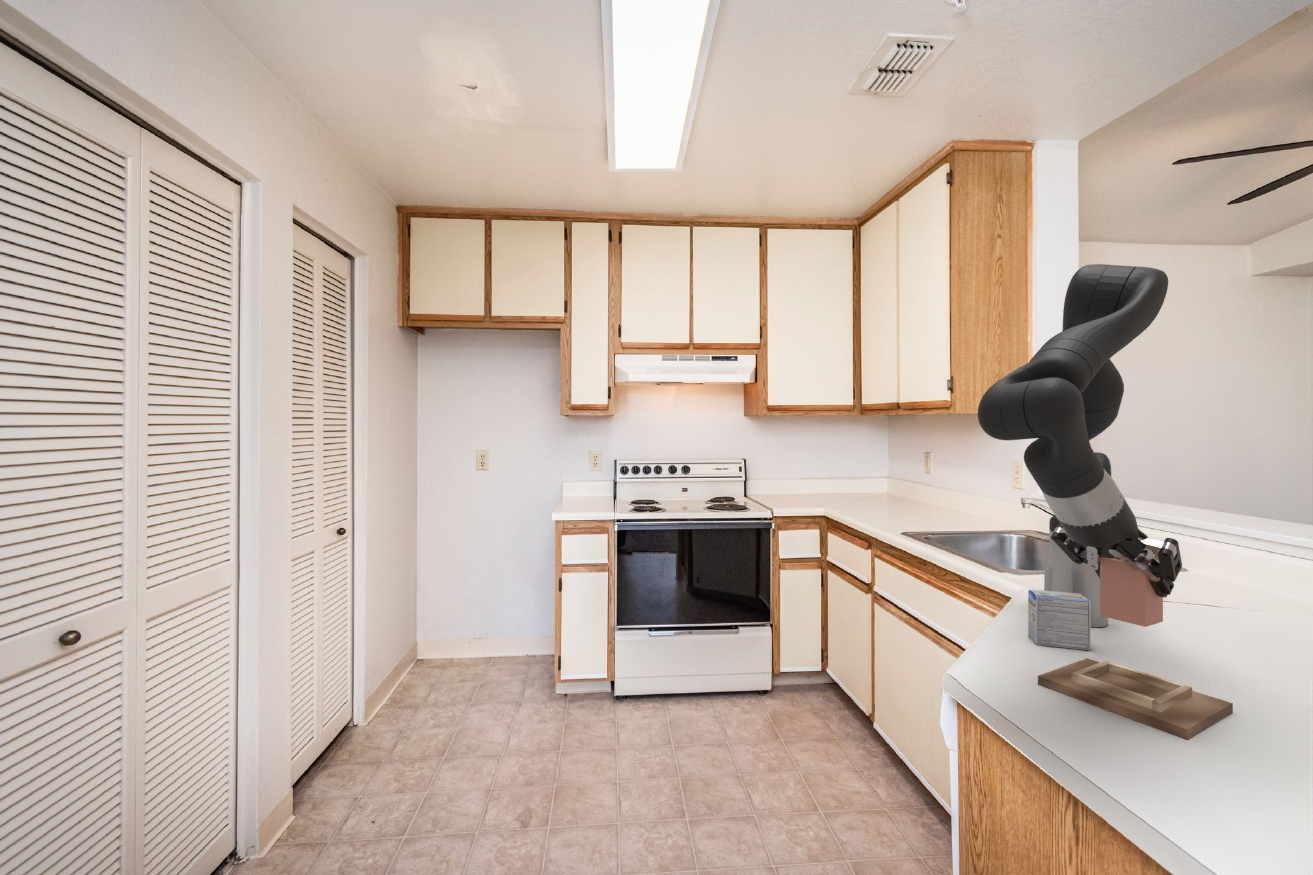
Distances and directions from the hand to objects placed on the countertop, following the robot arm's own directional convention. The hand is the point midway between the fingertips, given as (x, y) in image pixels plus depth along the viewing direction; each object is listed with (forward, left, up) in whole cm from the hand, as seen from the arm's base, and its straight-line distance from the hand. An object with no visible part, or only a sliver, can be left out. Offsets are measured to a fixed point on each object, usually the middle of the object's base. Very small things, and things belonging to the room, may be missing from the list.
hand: (1137, 586), depth 74 cm
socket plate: (0, -2, -15) cm, 15 cm away
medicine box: (-15, +12, -15) cm, 25 cm away
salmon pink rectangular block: (0, -2, -4) cm, 5 cm away
